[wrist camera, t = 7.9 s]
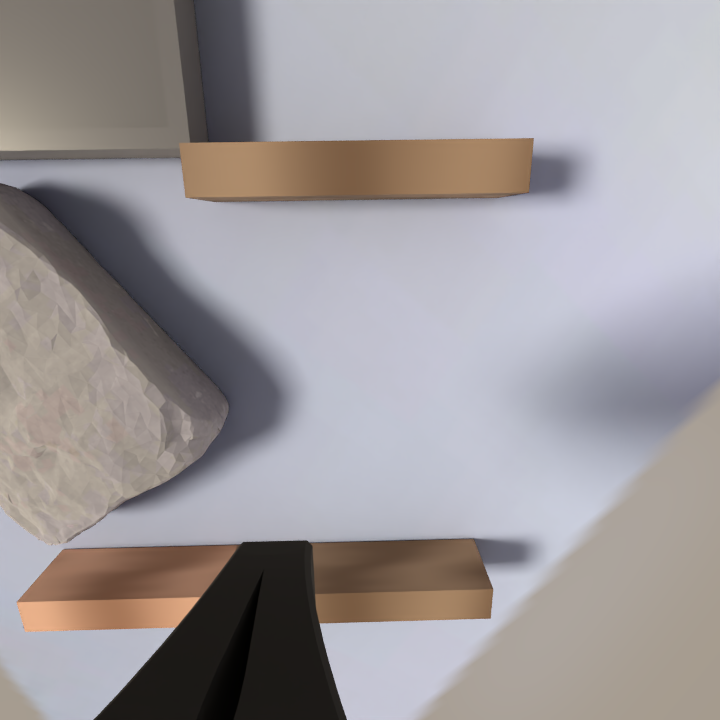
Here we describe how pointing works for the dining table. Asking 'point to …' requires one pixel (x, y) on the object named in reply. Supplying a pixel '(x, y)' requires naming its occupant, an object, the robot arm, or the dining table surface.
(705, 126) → the dining table surface
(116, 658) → the dining table surface
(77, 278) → the stone block
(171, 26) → the tray
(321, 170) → the pair of wooden bars
